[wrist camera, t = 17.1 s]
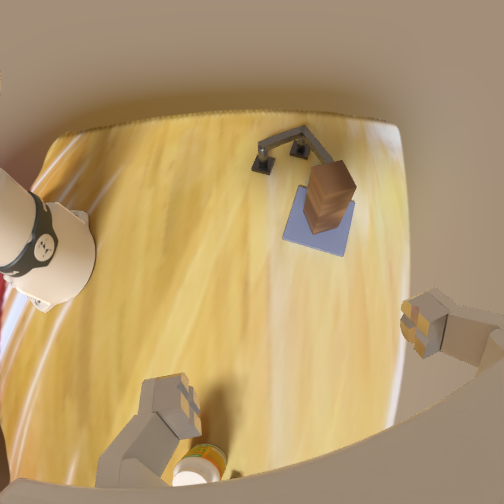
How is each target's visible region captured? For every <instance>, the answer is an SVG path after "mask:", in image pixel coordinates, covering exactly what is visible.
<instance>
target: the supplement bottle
mask: <svg viewBox="0 0 504 504" xmlns="http://www.w3.org/2000/svg"><path fill="white" fill-rule="evenodd" d="M226 466H227V459H226V456H225V454H224V453H223V452H222V451H221V450H220V449H219V448H218V447H216V446H214V445H211V444H199V445H196V446H194V447H193V448H192V449H190V451H189V452H188V453H187V454H186V455H185V456H184V457H183V458H182V459H181V460H180V461H179V462H178V463H177V465H176V466H175V468H174V472H173V475H174V478H173V487H174V486H185V485H194V484H202V483H209V482H216V481H221V478H222V476H223V474H224V471H225V469H226Z"/></svg>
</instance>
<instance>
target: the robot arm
mask: <svg viewBox="0 0 504 504" xmlns="http://www.w3.org/2000/svg"><path fill="white" fill-rule="evenodd" d="M0 93H1V71H0ZM94 261H95V244H94V240H93V237H92V235H91V233H90V230H89V219H88V214H87V213H85V212H84V211H78V210H68V209H67V208H65V207H64V206H63V205H61V204H60V203H59V202H55V203H53V202H47V203H45V202H44V201H43V200H42V199H41V198H40V197H39V196H37V195H36V194H34V193H32V192H31V191H26V190H25V189H24V188H22V187H21V186H20V185H19V184H18V183H17V182H16V181H15V180H14V179H12V177H10V176H9V175H8V174H7V173H6V172H5V171H4V170H3V169H2V168H0V272H1V273H3V274H5V275H4V279H5V280H6V281H7V282H9V283H10V284H11V285H12V287H14V288H15V289H17V290H18V291H20V292H22V293H24V294H25V295H26V296H27V297H28V298H29V299H30V300H31V302H32V303H33V304H34V305H35V306H36V307H37V308H38V310H40V311H41V312H43V313H46V312H48V311H49V310H51V309H52V308H53V307H54V306H55V305H57V304H59V303H63V302H66V301H68V300H70V299H72V298H73V297H75V296H76V295H77V294H78V293H79V292H80V291H81V290H82V289H83V287H84V286H85V285H86V283H87V281H88V279H89V277H90V275H91V273H92V270H93V266H94ZM40 301H41V302H40ZM401 311H402V312H403V313H404V314H403V316H402V318H401V319H400V327H401V331H402V334H403V336H404V337H405V339H406V340H407V341H408V342H411V343H414V349H415V350H416V352H417V353H418V354H419V355H420V356H421V357H422V359H425V358H427V357H429V356H431V355H433V354H435V353H437V352H438V351H440V350H441V351H440V352H443V353H445V354H448V355H450V356H452V357H454V358H457V359H459V360H461V361H464V362H466V363H468V364H471V365H473V366H475V367H478V369H477V371H476V374H475V376H474V379H472V380H471V381H469V382H468V383H467V384H465V385H463V386H462V387H461V388H459V389H457V390H456V391H454V392H453V393H451V394H450V395H448V396H446V397H445V398H443V399H441V400H440V401H438V402H437V403H435V404H433V405H431V406H430V407H428V408H426V409H424V410H422V411H421V412H419V413H417V414H415V415H413V416H411V417H410V418H408V419H406V420H404V421H402V422H400V423H398V424H396V425H394V426H392V427H390V428H388V429H385V430H383V431H381V432H379V433H377V434H374V435H372V436H370V437H368V438H365V439H363V440H361V441H358V442H356V443H353V444H351V445H348V446H346V447H343V448H341V449H338V450H335V451H333V452H330V453H327V454H324V455H321V456H318V457H315V458H312V459H309V460H306V461H303V462H299V463H296V464H293V465H289V466H286V467H282V468H278V469H274V470H270V471H266V472H262V473H258V474H253V475H249V476H244V477H239V478H234V479H228V480H222V481H216V482H209V483H202V484H194V485H185V486H174V487H171V486H170V485H168V484H167V483H166V482H164V481H163V480H162V479H161V478H160V477H161V475H162V473H163V471H164V470H165V468H166V466H167V464H168V462H169V460H170V459H171V457H172V455H173V453H174V451H175V449H176V448H177V446H178V444H179V442H180V441H179V440H182V439H188V438H193V437H198V436H202V431H201V420H200V419H199V417H198V416H197V415H198V414H199V412H200V404H199V400H198V396H197V394H196V391H195V390H194V388H193V387H191V386H189V381H188V378H187V376H186V375H185V373H178V374H173V375H168V376H162V377H157V378H153V379H146V380H144V381H143V383H142V388H141V395H140V402H139V410H138V415H134V416H133V418H132V419H131V420H130V421H129V423H128V424H127V425H126V426H125V427H124V429H123V430H122V431H121V432H120V433H119V435H118V436H117V437H116V438H115V440H114V441H113V442H112V443H111V444H110V446H109V447H108V448H107V449H106V450H105V452H104V453H103V454H102V455H101V456H100V458H99V461H98V467H97V474H96V481H95V487H83V486H73V485H64V484H56V483H50V482H43V481H38V480H32V479H28V478H17V479H15V480H14V481H13V482H11V483H10V484H9V485H8V486H7V487H6V488H5V489H4V490H3V491H2V492H1V493H0V504H504V315H502V314H497V313H493V312H489V311H484V310H480V309H475V308H471V307H467V306H462V307H460V306H459V305H457V304H456V303H455V302H454V301H453V300H451V299H450V298H449V297H448V296H446V295H445V294H444V293H443V292H442V291H440V290H439V289H438V288H436V287H433V288H430V289H428V290H426V291H424V292H423V293H420V294H418V295H416V296H414V297H411V298H409V299H407V300H405V301H403V303H402V305H401Z"/></svg>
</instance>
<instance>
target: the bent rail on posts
mask: <svg viewBox="0 0 504 504" xmlns="http://www.w3.org/2000/svg"><path fill="white" fill-rule="evenodd" d="M295 139H298V141H296V140H295ZM293 140H294V143H293V146H292V149H291V151H290V155H292V156H296V157H300V158H303V159H308V156H309V152H310V149H311V150H312V151H313V152H314V154H315V155H316V156H317V157H318V159H319V160H320V161H321V163H322V164H327V163H331V162H334V160H333V159H332V158H331V156H330V155H329V154H328V153H327V151H326V150H325V149H324V148H323V146H322V145H321V144H320V143H319V142H318V140H317V139H316V138H315V137H314V135H313V134H312V133H311V132H310V131H309V129H308V128H307V127H306V126H304V125H303V126H300V127H297V128H294V129H292V130H289V131H286V132H283V133H281V134H278V135H275V136H273V137H270V138H267V139H265V140H262V141H259V142H258V155H257V157H256V159H255V161H254V164H253V166H252V168H251V169H252V171H255V172H259V173H263V174H267V175H270V173H271V170H272V167H273V165H274V162H275V159H274V158H270V157H268V150H269V149H272V148H274V147H277V146H280V145H282V144H285V143H287V142H290V141H293Z"/></svg>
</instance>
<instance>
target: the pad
mask: <svg viewBox="0 0 504 504" xmlns="http://www.w3.org/2000/svg"><path fill="white" fill-rule="evenodd" d="M306 194H307V188H304V187H300V186H299V187H298V191H297V194H296V197H295V200H294V203H293V207H292V210H291V213H290V216H289V219H288V222H287V226H286V229H285V232H284V235H283V240H287V241H290V242H294V243H297V244H301V245H304V246H307V247H311V248H314V249H317V250H321V251H324V252H327V253H331V254H334V255H337V256H341V257H343V256H344V252H345V248H346V243H347V239H348V234H349V230H350V225H351V220H352V215H353V210H354V205H355V202H351V201H350V203H349V205H348V207H347V209H346V212H345V214H344V216H343V218H342V220H341V222H340V224H339V226H338V228H335V229H332V230H328V231H325V232H321V233H318V234H315V235H312V232H311V230H310V227H309V225H308V222H307V220H306V217H305V215H304V213H303V209H304V204H305V199H306Z"/></svg>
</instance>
